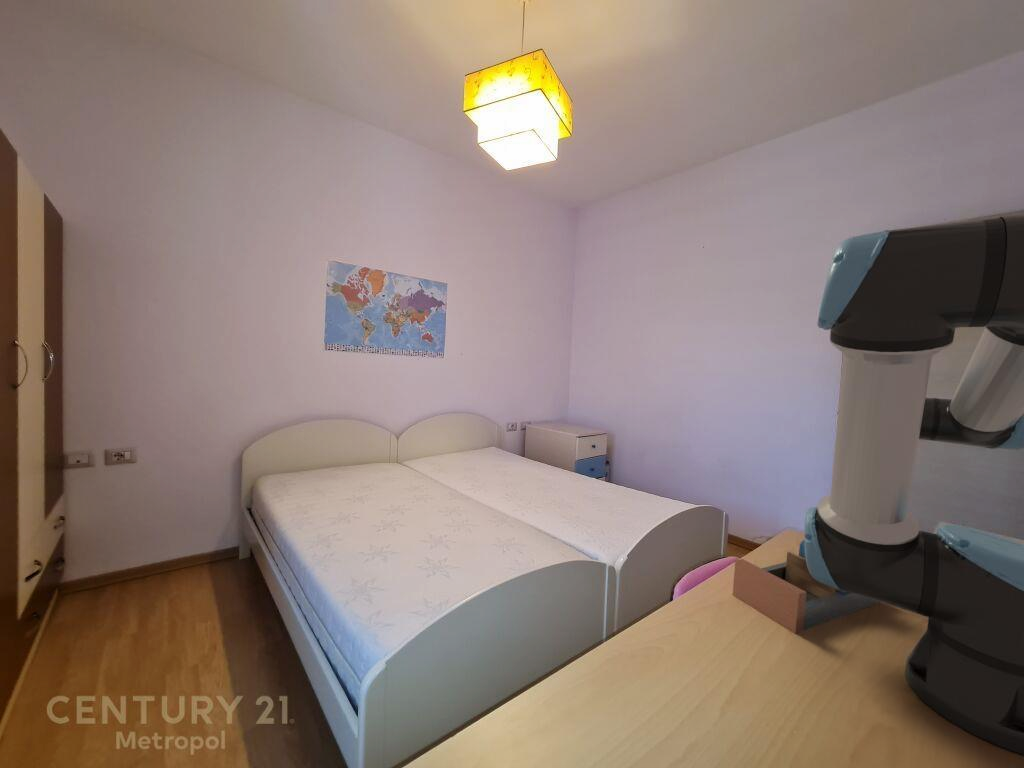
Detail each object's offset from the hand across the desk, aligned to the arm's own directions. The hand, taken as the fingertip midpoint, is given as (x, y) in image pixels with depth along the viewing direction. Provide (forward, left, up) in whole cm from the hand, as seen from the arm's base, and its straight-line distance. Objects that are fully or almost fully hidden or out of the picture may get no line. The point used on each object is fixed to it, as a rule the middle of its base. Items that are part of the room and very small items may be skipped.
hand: (857, 565), depth 87 cm
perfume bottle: (0, +12, -1) cm, 12 cm away
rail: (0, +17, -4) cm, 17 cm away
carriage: (0, +10, -3) cm, 11 cm away
